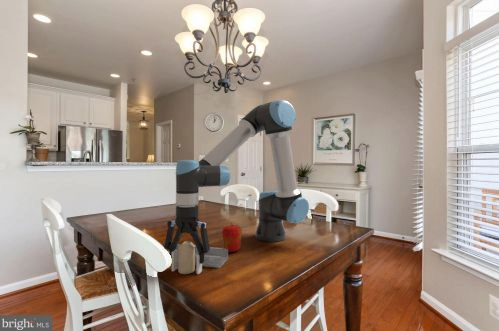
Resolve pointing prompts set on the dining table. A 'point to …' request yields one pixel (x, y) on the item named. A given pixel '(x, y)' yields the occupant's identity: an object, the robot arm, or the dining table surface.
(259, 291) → the dining table surface
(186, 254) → the candle
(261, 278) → the dining table surface
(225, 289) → the dining table surface
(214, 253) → the gray tray
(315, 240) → the dining table surface
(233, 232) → the apple
